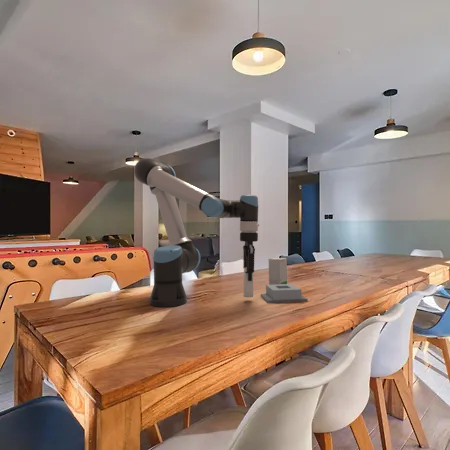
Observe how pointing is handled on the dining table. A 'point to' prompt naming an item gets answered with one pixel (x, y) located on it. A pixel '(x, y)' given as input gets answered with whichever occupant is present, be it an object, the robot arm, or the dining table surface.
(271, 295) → the socket
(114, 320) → the dining table surface
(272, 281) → the skincare box
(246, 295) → the dowel
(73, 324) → the dining table surface
